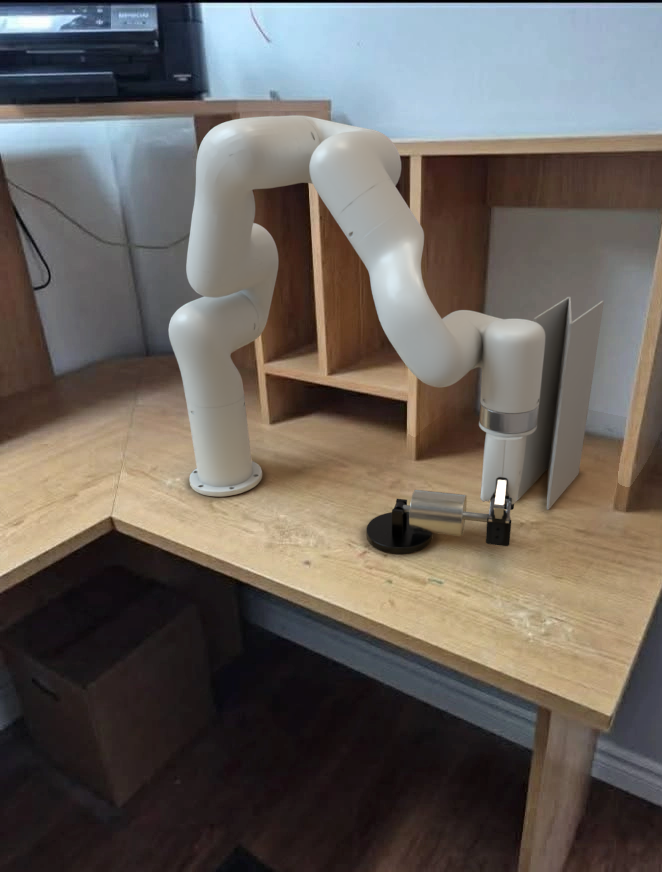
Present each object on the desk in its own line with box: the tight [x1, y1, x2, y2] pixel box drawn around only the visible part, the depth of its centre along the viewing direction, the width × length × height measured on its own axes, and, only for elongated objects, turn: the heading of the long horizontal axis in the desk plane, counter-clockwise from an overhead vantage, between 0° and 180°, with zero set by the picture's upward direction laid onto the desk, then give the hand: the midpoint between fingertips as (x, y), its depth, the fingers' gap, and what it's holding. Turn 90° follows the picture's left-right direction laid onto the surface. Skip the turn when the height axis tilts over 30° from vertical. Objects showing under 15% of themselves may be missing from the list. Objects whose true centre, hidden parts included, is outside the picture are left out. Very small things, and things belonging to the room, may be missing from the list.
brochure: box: [516, 296, 605, 511], centre depth 109 cm, size 14×6×30 cm, turn 145°
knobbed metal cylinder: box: [393, 489, 506, 537], centre depth 100 cm, size 17×6×6 cm, turn 75°
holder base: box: [365, 498, 434, 555], centre depth 103 cm, size 10×10×5 cm
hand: (500, 525), depth 99 cm, fingers open, 9 cm apart
